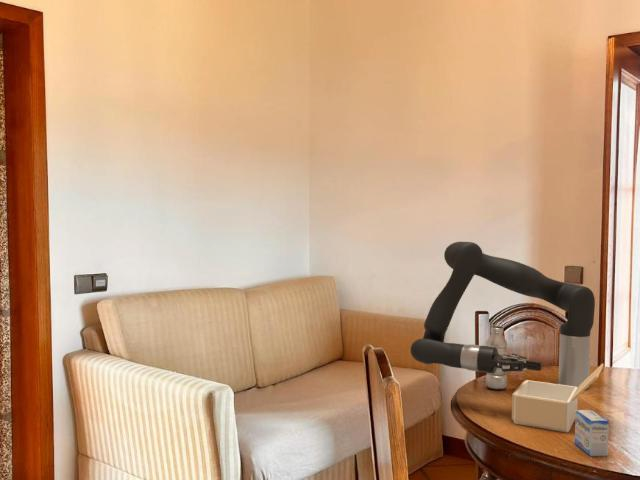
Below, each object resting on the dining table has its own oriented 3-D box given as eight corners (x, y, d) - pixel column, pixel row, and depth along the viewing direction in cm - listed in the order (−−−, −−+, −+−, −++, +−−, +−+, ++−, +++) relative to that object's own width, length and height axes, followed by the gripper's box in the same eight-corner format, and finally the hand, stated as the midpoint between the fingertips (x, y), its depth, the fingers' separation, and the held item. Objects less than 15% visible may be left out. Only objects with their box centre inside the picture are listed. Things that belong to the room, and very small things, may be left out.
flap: (602, 363, 174) (603, 364, 174) (579, 385, 177) (581, 386, 177) (595, 376, 161) (597, 377, 161) (571, 399, 164) (572, 401, 164)
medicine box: (574, 444, 157) (574, 409, 157) (591, 443, 157) (592, 409, 157) (590, 456, 149) (591, 420, 149) (608, 456, 150) (609, 420, 149)
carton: (524, 405, 186) (525, 379, 186) (577, 414, 179) (578, 386, 178) (510, 423, 171) (511, 394, 171) (567, 433, 164) (568, 403, 164)
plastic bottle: (508, 392, 200) (509, 329, 198) (485, 390, 201) (487, 328, 200) (506, 386, 206) (507, 325, 205) (484, 385, 207) (485, 324, 206)
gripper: (473, 350, 177) (537, 358, 169) (485, 341, 189) (546, 348, 180) (472, 376, 178) (536, 385, 169) (484, 366, 189) (545, 374, 181)
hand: (541, 366), depth 175 cm, fingers closed
